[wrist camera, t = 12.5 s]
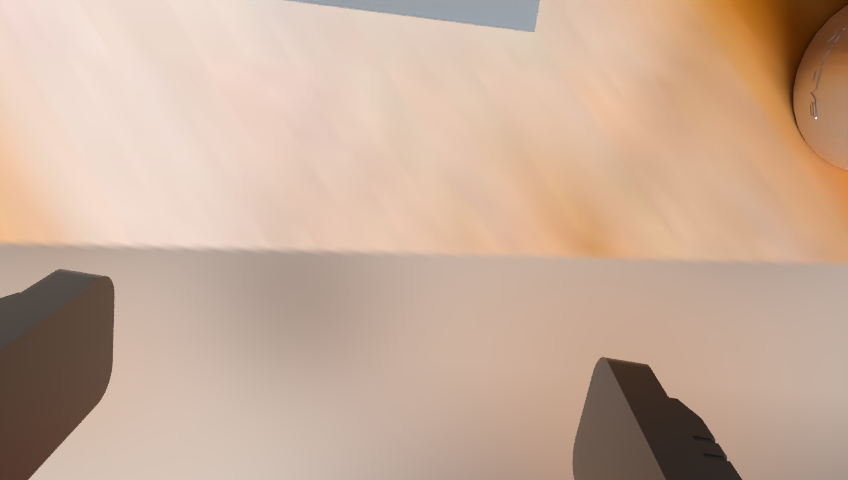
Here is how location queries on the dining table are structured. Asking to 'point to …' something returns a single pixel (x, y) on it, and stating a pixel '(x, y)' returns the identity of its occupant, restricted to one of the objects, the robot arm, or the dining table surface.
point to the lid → (452, 10)
